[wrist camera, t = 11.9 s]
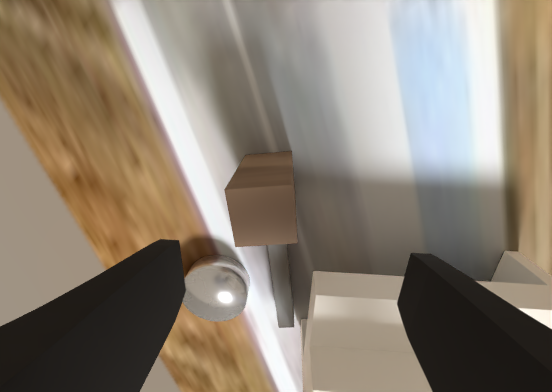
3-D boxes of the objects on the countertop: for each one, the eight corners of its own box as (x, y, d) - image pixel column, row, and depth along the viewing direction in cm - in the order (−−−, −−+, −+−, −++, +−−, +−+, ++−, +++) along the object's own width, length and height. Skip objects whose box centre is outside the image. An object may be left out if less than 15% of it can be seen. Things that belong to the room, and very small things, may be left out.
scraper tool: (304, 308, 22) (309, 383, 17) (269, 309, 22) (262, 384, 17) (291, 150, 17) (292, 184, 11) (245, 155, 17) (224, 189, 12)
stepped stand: (476, 339, 22) (566, 463, 15) (300, 327, 23) (305, 442, 16) (519, 251, 19) (664, 359, 12) (309, 239, 19) (320, 335, 12)
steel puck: (254, 300, 22) (251, 319, 20) (197, 303, 23) (189, 322, 21) (244, 251, 20) (239, 268, 18) (182, 255, 21) (172, 272, 19)
